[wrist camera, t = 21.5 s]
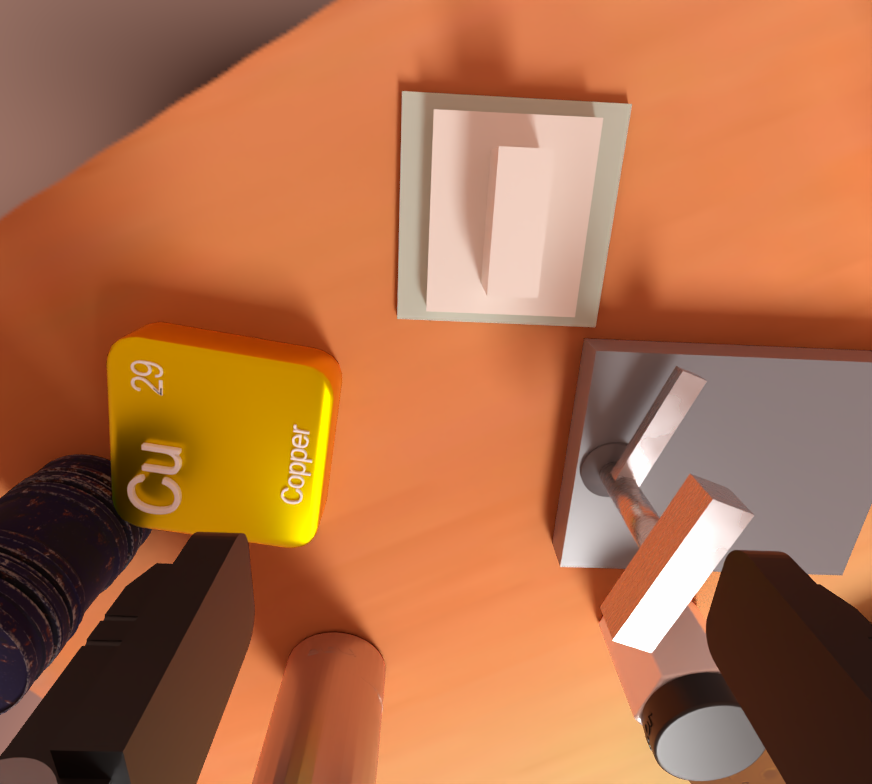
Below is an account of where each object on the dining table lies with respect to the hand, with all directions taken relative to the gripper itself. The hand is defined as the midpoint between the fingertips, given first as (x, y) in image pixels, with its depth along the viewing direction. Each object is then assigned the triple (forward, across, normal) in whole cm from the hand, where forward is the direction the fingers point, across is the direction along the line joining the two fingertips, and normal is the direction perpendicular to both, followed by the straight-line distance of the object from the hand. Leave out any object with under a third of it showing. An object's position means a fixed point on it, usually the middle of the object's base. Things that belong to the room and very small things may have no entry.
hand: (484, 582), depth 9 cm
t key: (+27, -14, +11) cm, 32 cm away
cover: (+30, -4, -4) cm, 30 cm away
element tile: (+31, +15, +12) cm, 36 cm away
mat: (+30, -4, -4) cm, 31 cm away
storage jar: (+30, +27, +20) cm, 45 cm away
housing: (+30, -22, +13) cm, 39 cm away
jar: (+30, -20, +30) cm, 47 cm away
